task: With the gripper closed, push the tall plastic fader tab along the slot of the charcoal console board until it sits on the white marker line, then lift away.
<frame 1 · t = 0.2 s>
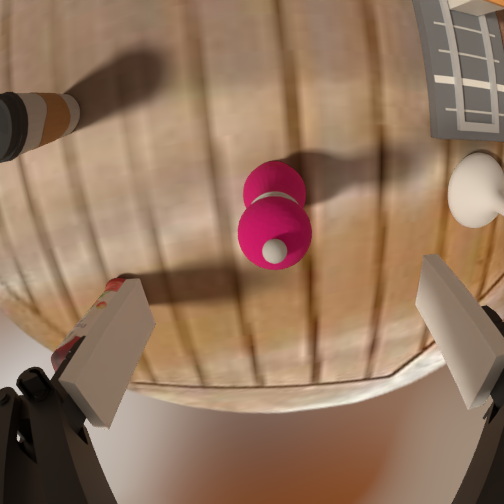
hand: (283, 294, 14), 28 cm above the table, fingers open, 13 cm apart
flower in vase: (468, 184, 37), on the table
liquor: (127, 291, 49), on the table
console: (462, 50, 28), on the table
pepper mill: (274, 184, 40), on the table
coffee cup: (65, 114, 36), on the table
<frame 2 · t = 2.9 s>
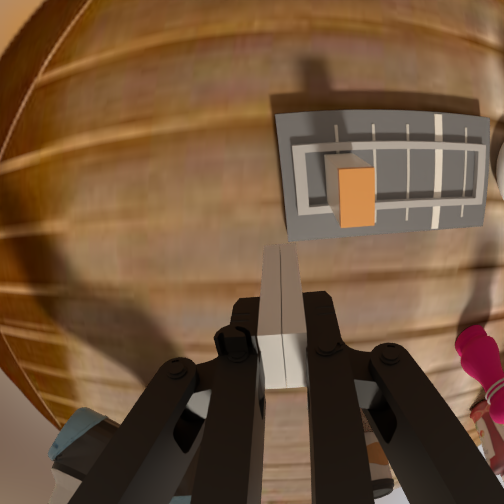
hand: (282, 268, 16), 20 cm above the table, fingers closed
liquor: (479, 405, 53), on the table
console: (393, 169, 32), on the table
fader: (347, 186, 28), point 6 cm above the table, slide at -7.0 cm
pepper mill: (468, 337, 43), on the table
coffee cup: (366, 437, 57), on the table
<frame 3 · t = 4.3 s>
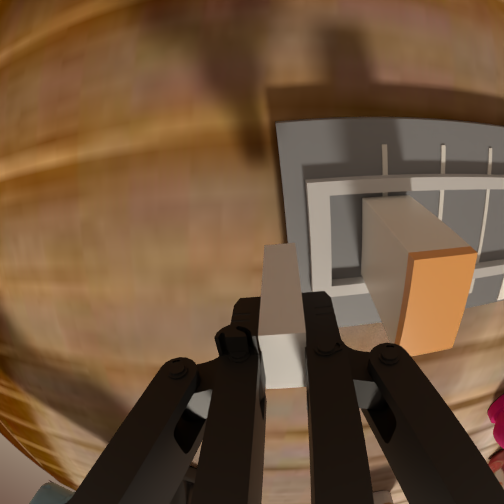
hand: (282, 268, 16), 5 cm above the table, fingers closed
liquor: (499, 452, 40), on the table
console: (459, 216, 19), on the table
fader: (407, 266, 14), point 6 cm above the table, slide at -7.0 cm
pepper mill: (503, 400, 30), on the table
coffee cup: (374, 494, 44), on the table
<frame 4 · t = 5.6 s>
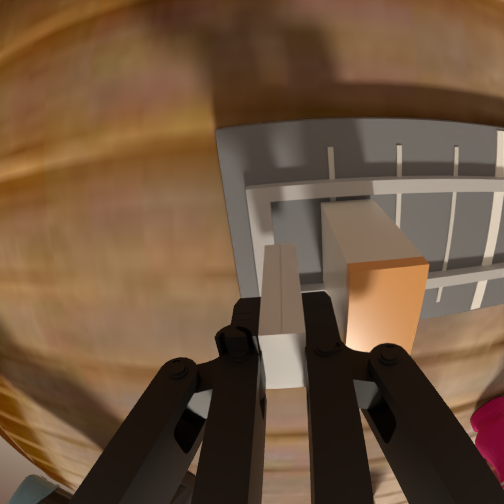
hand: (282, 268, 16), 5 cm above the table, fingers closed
console: (425, 220, 19), on the table
fader: (362, 274, 14), point 6 cm above the table, slide at -6.2 cm, touching gripper
pepper mill: (487, 409, 30), on the table
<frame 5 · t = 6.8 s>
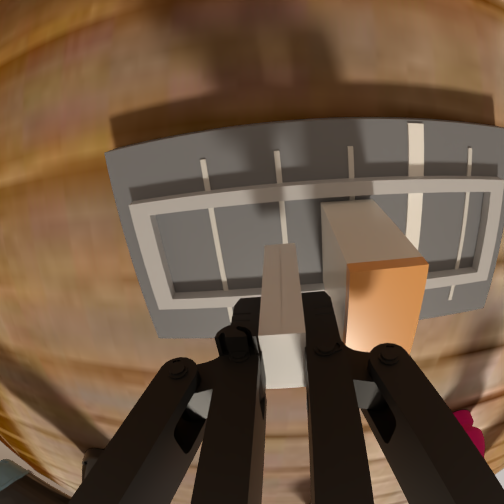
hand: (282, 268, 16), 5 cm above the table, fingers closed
console: (330, 227, 20), on the table
fader: (362, 274, 14), point 6 cm above the table, slide at 0.6 cm, touching gripper
pepper mill: (449, 421, 31), on the table
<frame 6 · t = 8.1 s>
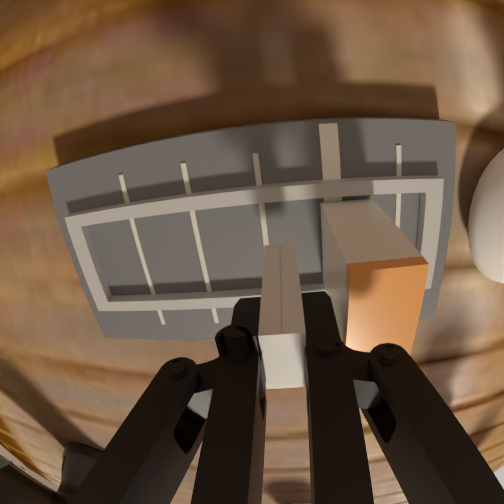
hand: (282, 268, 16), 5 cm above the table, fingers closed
flower in vase: (503, 214, 19), on the table
console: (251, 234, 21), on the table
fader: (362, 274, 14), point 6 cm above the table, slide at 5.8 cm, touching gripper
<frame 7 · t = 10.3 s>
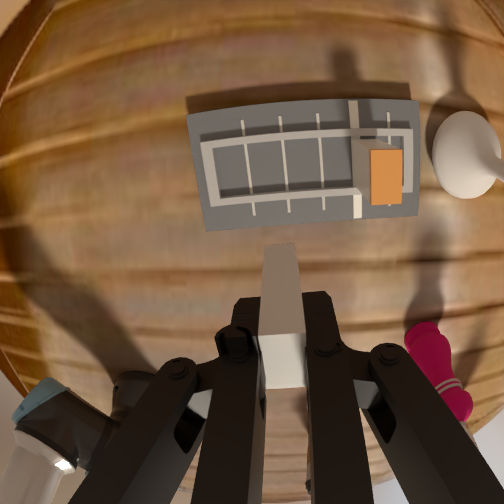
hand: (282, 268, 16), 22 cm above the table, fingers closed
flower in vase: (458, 157, 33), on the table
console: (310, 159, 35), on the table
fader: (374, 168, 29), point 6 cm above the table, slide at 5.9 cm
pepper mill: (420, 334, 46), on the table
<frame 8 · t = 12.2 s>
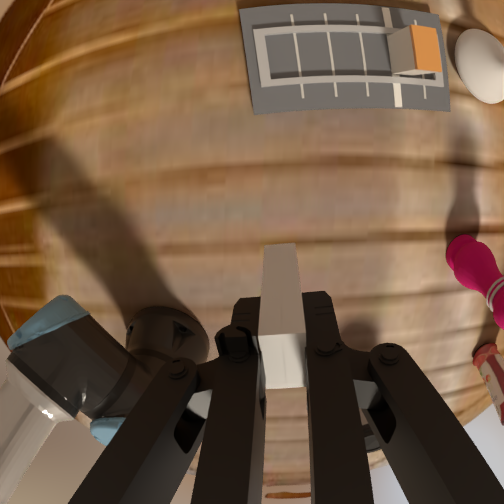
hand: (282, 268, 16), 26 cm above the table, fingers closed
flower in vase: (476, 69, 30), on the table
liquor: (482, 350, 53), on the table
console: (351, 56, 32), on the table
fader: (412, 52, 26), point 6 cm above the table, slide at 5.9 cm
pepper mill: (460, 250, 43), on the table
coffee cup: (359, 381, 57), on the table
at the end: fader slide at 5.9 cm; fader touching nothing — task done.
